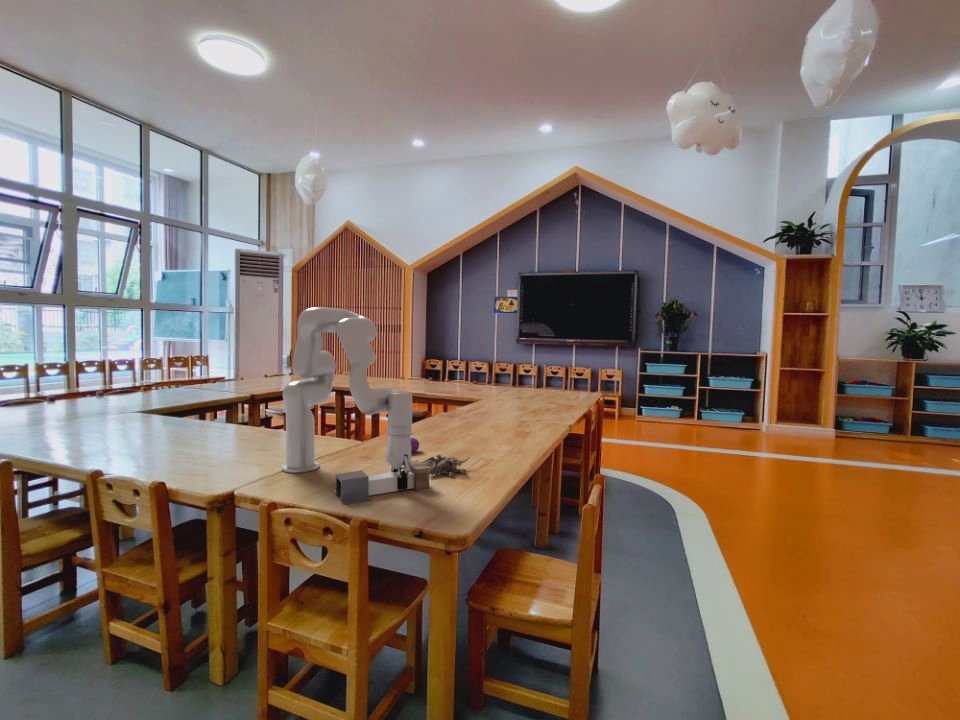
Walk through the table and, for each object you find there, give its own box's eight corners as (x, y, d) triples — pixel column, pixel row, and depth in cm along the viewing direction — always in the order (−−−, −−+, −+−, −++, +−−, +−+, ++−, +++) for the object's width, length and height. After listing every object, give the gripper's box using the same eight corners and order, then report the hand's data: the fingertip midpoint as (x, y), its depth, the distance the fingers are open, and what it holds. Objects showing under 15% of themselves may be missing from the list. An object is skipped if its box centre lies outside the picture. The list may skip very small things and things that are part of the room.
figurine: (434, 468, 157) (403, 458, 169) (435, 485, 158) (404, 474, 170) (476, 453, 172) (444, 445, 183) (476, 469, 172) (445, 460, 184)
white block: (360, 492, 147) (360, 476, 146) (414, 483, 156) (414, 468, 156) (364, 496, 143) (364, 481, 143) (419, 487, 152) (420, 472, 152)
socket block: (405, 482, 157) (405, 462, 156) (417, 480, 159) (417, 460, 159) (416, 491, 149) (416, 469, 149) (429, 489, 151) (429, 467, 151)
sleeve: (333, 492, 146) (333, 471, 146) (359, 488, 150) (359, 468, 150) (343, 505, 136) (343, 482, 136) (370, 500, 140) (371, 478, 140)
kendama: (382, 451, 181) (407, 436, 200) (385, 466, 181) (410, 450, 200) (396, 450, 179) (420, 435, 197) (399, 465, 179) (422, 449, 198)
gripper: (379, 426, 155) (379, 480, 156) (398, 437, 141) (397, 497, 142) (401, 424, 159) (400, 477, 160) (421, 434, 144) (421, 493, 146)
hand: (399, 486), depth 151 cm, fingers closed on white block, 4 cm apart
